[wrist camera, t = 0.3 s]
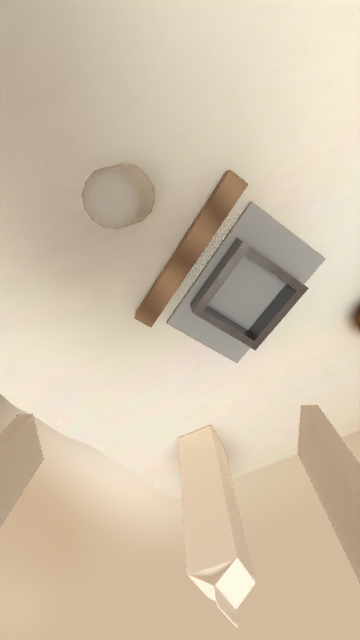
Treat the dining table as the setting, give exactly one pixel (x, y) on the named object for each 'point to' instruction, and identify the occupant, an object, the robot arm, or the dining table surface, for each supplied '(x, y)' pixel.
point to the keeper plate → (246, 285)
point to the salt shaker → (118, 196)
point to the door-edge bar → (191, 247)
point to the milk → (213, 523)
